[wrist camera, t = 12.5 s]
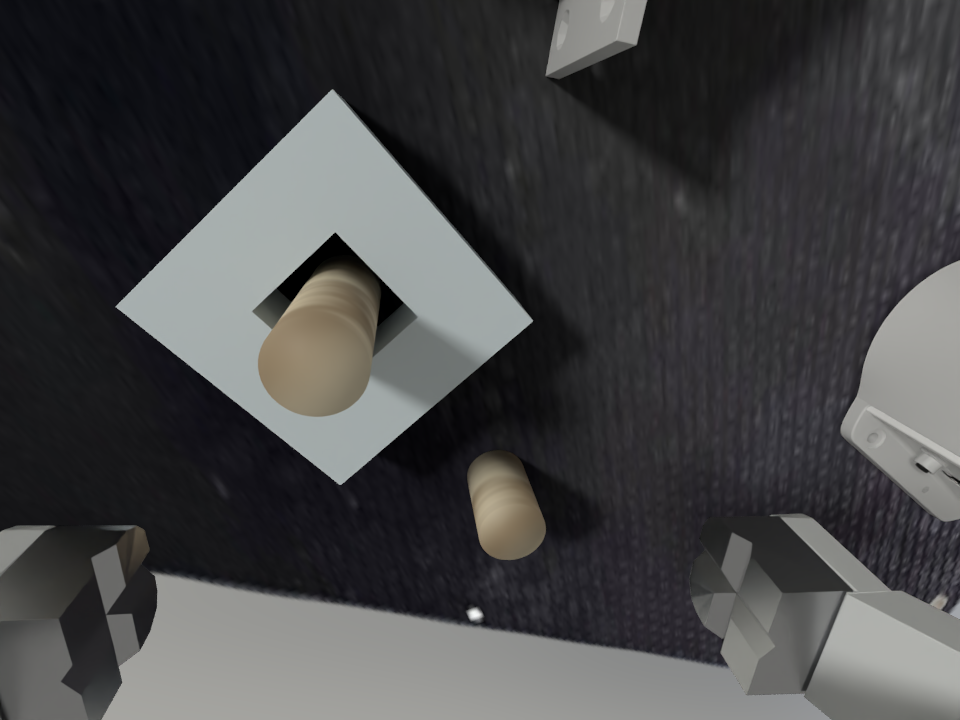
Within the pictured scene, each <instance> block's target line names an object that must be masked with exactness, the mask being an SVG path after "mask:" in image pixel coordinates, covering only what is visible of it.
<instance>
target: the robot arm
mask: <svg viewBox="0 0 960 720" xmlns="http://www.w3.org/2000/svg"><path fill="white" fill-rule="evenodd" d="M841 435H842V436H843V438H844V439H845V440H847V441H848V442H849V443H850V444H851V445H852V446H853V447H854V448H856V449H857V450H858V451H859V452H860V453H861V454H862V455H863V456H865V457H866V458H867V459H868V460H869V461H870V462H871V463H872V464H874V465H875V466H876V467H877V468H878V469H879V470H880V471H881V472H883V473H884V474H885V475H886V476H887V477H888V478H889V479H891V480H892V481H893V482H894V483H895V484H896V485H897V486H898V487H900V488H901V489H902V490H903V491H904V492H905V493H906V494H907V495H909V496H910V497H911V498H912V499H913V500H914V501H915V502H916V503H918V504H919V505H920V506H921V507H922V508H923V509H924V510H926V511H927V512H928V513H929V514H931V515H932V516H934V517H936V518H938V519H939V520H941V521H945V522H947V521H953V520H957V519H960V261H957V262H955V263H952V264H950V265H948V266H946V267H944V268H942V269H940V270H939V271H937V272H935V273H934V274H932V275H931V276H929V277H928V278H926V279H925V280H923V281H922V282H921V283H920V284H918V285H917V286H916V287H915V288H914V289H912V290H911V291H910V292H909V293H908V294H907V295H906V296H905V297H904V298H903V299H902V300H901V301H900V302H899V303H898V304H897V305H896V307H895V308H894V309H893V310H892V311H891V313H890V314H889V315H888V317H887V318H886V319H885V321H884V322H883V324H882V325H881V327H880V329H879V330H878V332H877V334H876V336H875V337H874V339H873V341H872V344H871V346H870V348H869V351H868V353H867V356H866V359H865V362H864V366H863V371H862V376H861V382H860V387H859V391H858V394H857V397H856V398H855V400H854V402H853V403H852V405H851V407H850V409H849V410H848V412H847V414H846V416H845V418H844V420H843V422H842V425H841ZM699 539H700V541H701V542H702V544H703V546H704V548H705V551H704V552H703V553H702V554H701V555H700V556H699V557H698V558H697V559H696V560H694V561H693V565H692V569H691V574H690V579H689V580H690V590H691V598H692V601H693V604H694V607H695V610H696V612H697V614H698V616H699V617H700V619H701V621H702V623H703V624H704V626H705V627H706V628H708V629H709V630H711V631H712V632H713V633H715V634H716V635H718V636H719V637H721V638H722V645H721V652H720V653H721V654H722V656H723V657H724V659H725V661H726V662H727V664H728V666H729V667H730V669H731V671H732V672H733V674H734V675H735V677H736V679H737V680H738V682H739V684H740V685H741V687H742V689H743V690H744V692H745V693H746V695H771V694H804V693H805V696H804V697H805V698H806V699H807V700H808V701H810V702H811V703H812V704H813V705H815V706H816V707H817V708H818V709H819V710H821V711H822V712H823V713H824V714H825V715H827V716H828V717H829V718H830V719H832V720H960V619H958V618H956V617H954V616H952V615H950V614H948V613H946V612H944V611H942V610H940V609H937V608H935V607H933V606H931V605H929V604H927V603H925V602H923V601H921V600H919V599H917V598H915V597H913V596H911V595H909V594H907V593H905V592H903V591H891V590H890V589H889V588H888V587H887V586H886V585H884V584H883V583H882V582H881V581H880V580H879V579H878V578H877V577H876V576H875V575H874V574H873V573H871V572H870V571H869V570H868V569H867V568H866V567H865V566H864V565H863V564H862V563H861V562H860V561H858V560H857V559H856V558H855V557H854V556H853V555H852V554H851V553H850V552H849V551H848V550H847V549H845V548H844V547H843V546H842V545H841V544H840V543H839V542H838V541H837V540H836V539H835V538H834V537H832V536H831V535H830V534H829V533H828V532H827V531H826V530H825V529H824V528H823V527H822V526H821V525H819V524H818V523H817V522H816V521H815V520H814V519H813V518H811V517H808V516H806V515H804V514H780V515H770V516H742V517H709V519H708V520H707V521H706V522H705V524H704V525H703V528H702V531H701V535H700V538H699ZM148 552H149V546H148V542H147V538H146V534H145V530H143V529H141V528H139V527H138V526H93V525H58V526H15V527H12V528H9V529H6V530H3V531H2V532H0V720H101V719H102V717H103V715H104V714H105V712H106V711H107V709H108V707H109V705H110V703H111V702H112V700H113V698H114V696H115V694H116V693H117V691H118V689H119V687H120V686H121V684H122V679H121V675H120V671H119V666H120V665H121V664H123V663H124V662H125V661H127V660H128V659H129V658H131V657H132V656H133V655H135V654H136V653H137V652H139V651H140V649H141V647H142V646H143V644H144V642H145V640H146V638H147V636H148V634H149V632H150V630H151V626H152V622H153V619H154V616H155V612H156V608H157V587H156V581H155V576H154V575H153V574H152V573H150V572H149V571H148V570H147V569H146V568H145V567H144V566H142V565H141V562H142V561H143V559H144V558H145V556H146V555H147V553H148Z"/></svg>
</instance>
